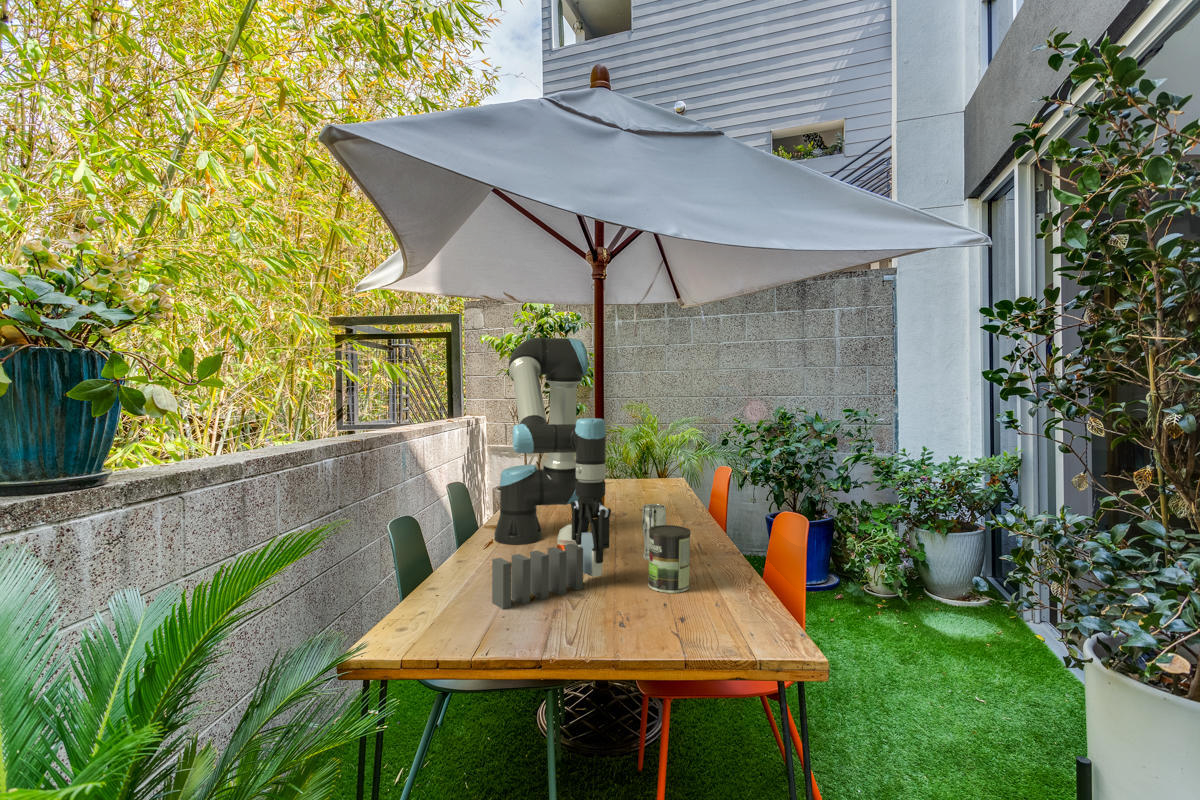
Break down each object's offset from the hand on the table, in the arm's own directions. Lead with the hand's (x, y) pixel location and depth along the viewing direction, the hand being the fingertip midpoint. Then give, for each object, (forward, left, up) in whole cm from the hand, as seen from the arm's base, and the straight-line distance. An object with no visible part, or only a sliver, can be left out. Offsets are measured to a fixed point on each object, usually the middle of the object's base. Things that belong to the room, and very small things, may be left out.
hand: (589, 572), depth 148 cm
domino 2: (0, -20, -3) cm, 20 cm away
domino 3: (0, -15, -3) cm, 15 cm away
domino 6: (0, 0, 0) cm, 0 cm away
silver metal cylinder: (-6, +28, -3) cm, 29 cm away
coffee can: (+14, +14, -3) cm, 20 cm away
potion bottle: (-20, +9, -3) cm, 22 cm away
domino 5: (0, -5, -3) cm, 6 cm away
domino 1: (0, -25, -3) cm, 25 cm away
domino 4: (0, -10, -3) cm, 10 cm away
